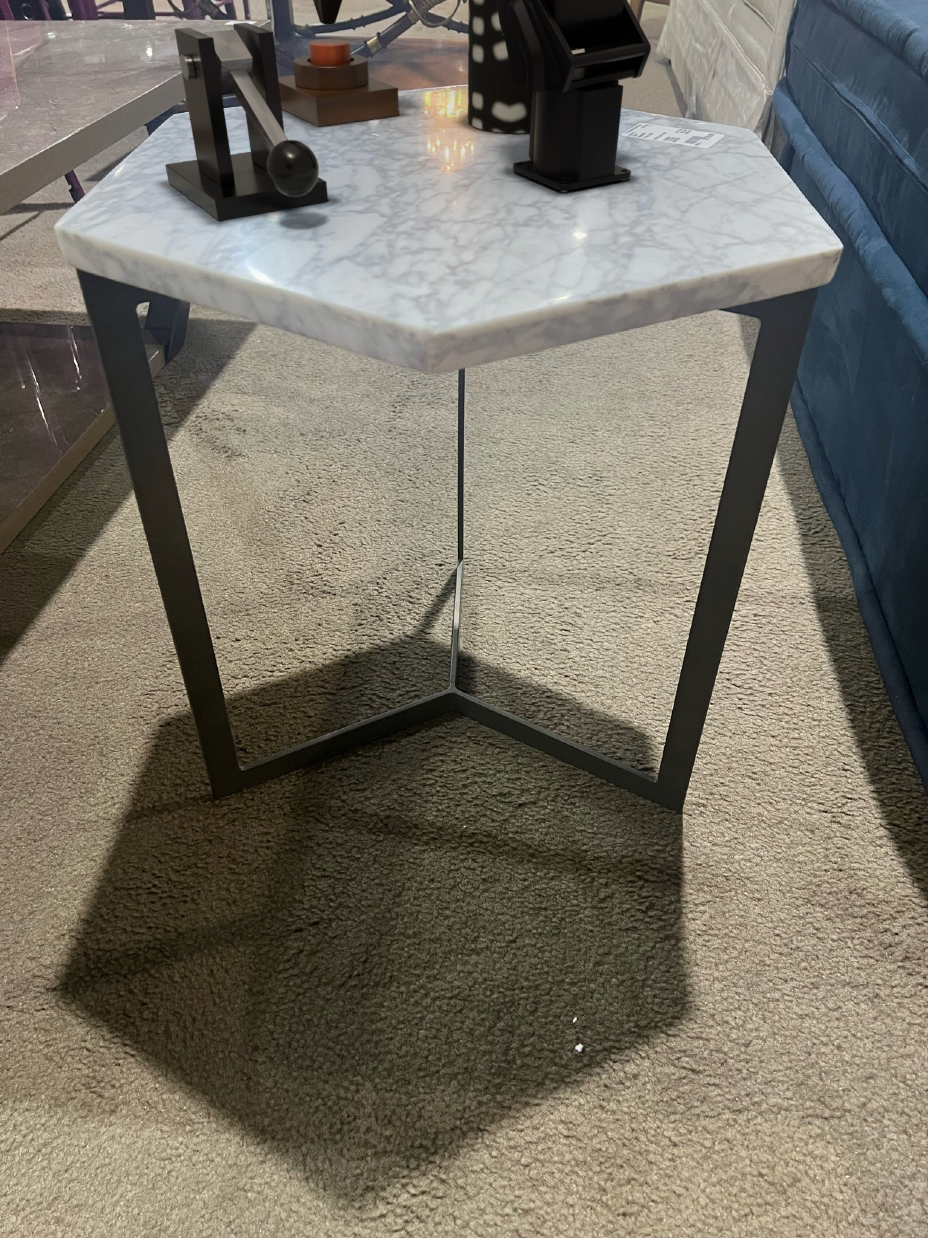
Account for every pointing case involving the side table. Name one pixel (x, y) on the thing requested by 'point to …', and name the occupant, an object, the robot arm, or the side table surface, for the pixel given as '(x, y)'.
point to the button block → (336, 92)
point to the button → (329, 51)
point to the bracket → (217, 173)
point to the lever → (263, 118)
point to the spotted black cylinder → (493, 76)
